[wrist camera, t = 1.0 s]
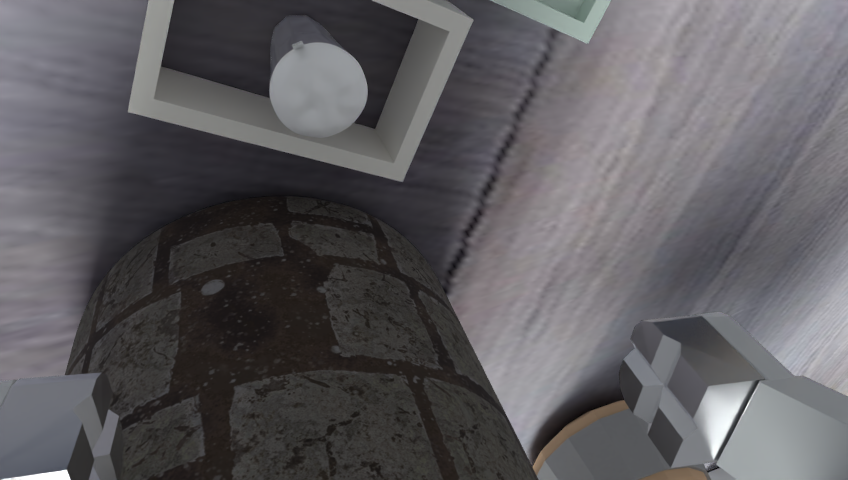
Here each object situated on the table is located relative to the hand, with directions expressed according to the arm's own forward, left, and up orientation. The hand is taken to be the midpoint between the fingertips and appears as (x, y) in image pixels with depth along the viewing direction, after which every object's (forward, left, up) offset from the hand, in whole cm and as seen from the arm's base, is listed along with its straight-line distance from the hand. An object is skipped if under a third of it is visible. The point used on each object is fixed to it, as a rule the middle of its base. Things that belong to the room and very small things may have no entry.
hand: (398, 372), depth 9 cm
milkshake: (+2, -2, -29) cm, 29 cm away
